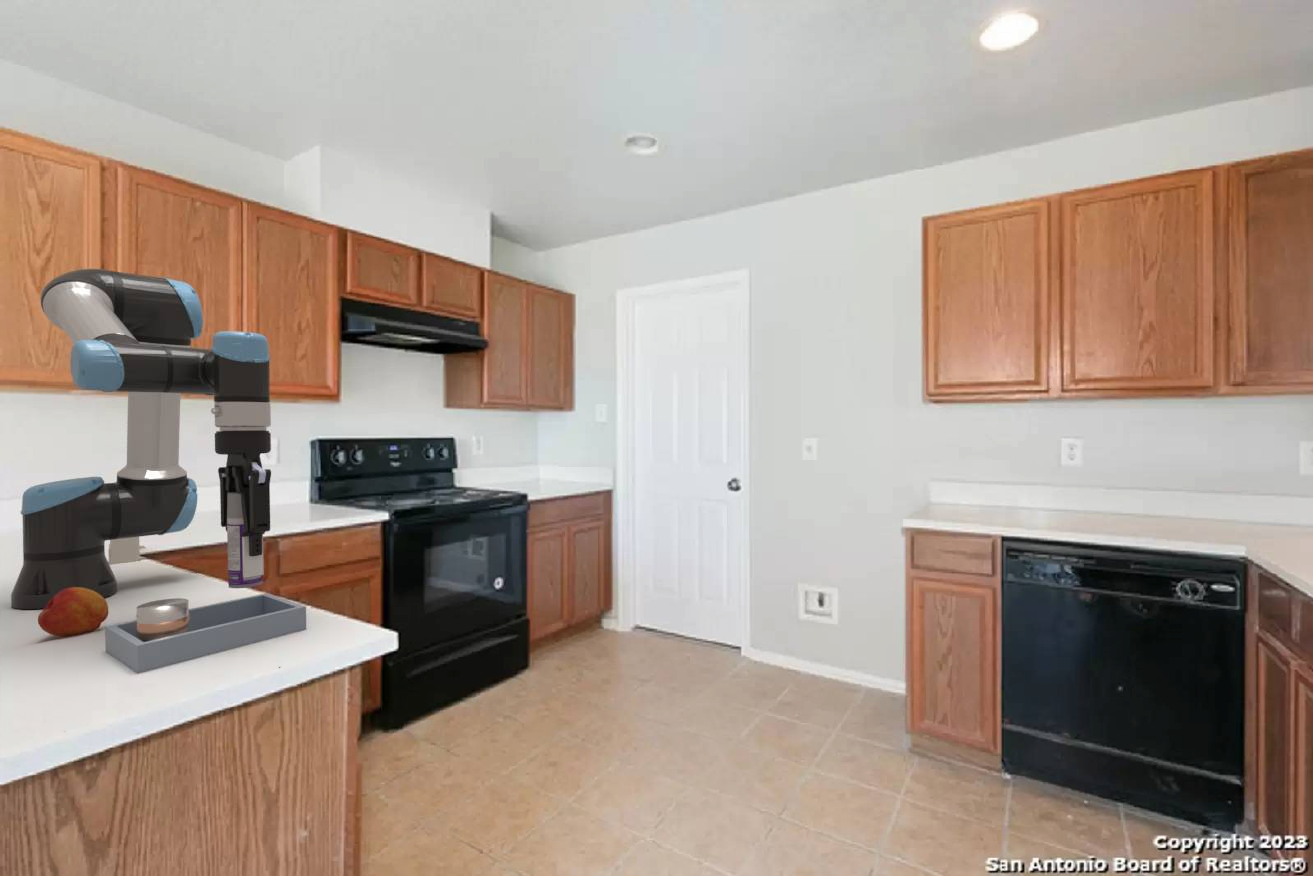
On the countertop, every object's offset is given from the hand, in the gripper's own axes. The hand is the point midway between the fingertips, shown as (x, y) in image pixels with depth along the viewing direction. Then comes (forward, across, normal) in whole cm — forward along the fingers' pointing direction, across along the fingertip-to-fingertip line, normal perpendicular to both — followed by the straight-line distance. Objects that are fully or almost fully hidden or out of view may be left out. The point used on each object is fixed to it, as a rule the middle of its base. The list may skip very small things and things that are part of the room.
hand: (245, 573), depth 101 cm
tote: (+10, 0, -5) cm, 11 cm away
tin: (+9, 0, -11) cm, 14 cm away
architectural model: (+11, -85, +6) cm, 86 cm away
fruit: (+10, -23, -16) cm, 30 cm away
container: (+2, 0, 0) cm, 2 cm away
